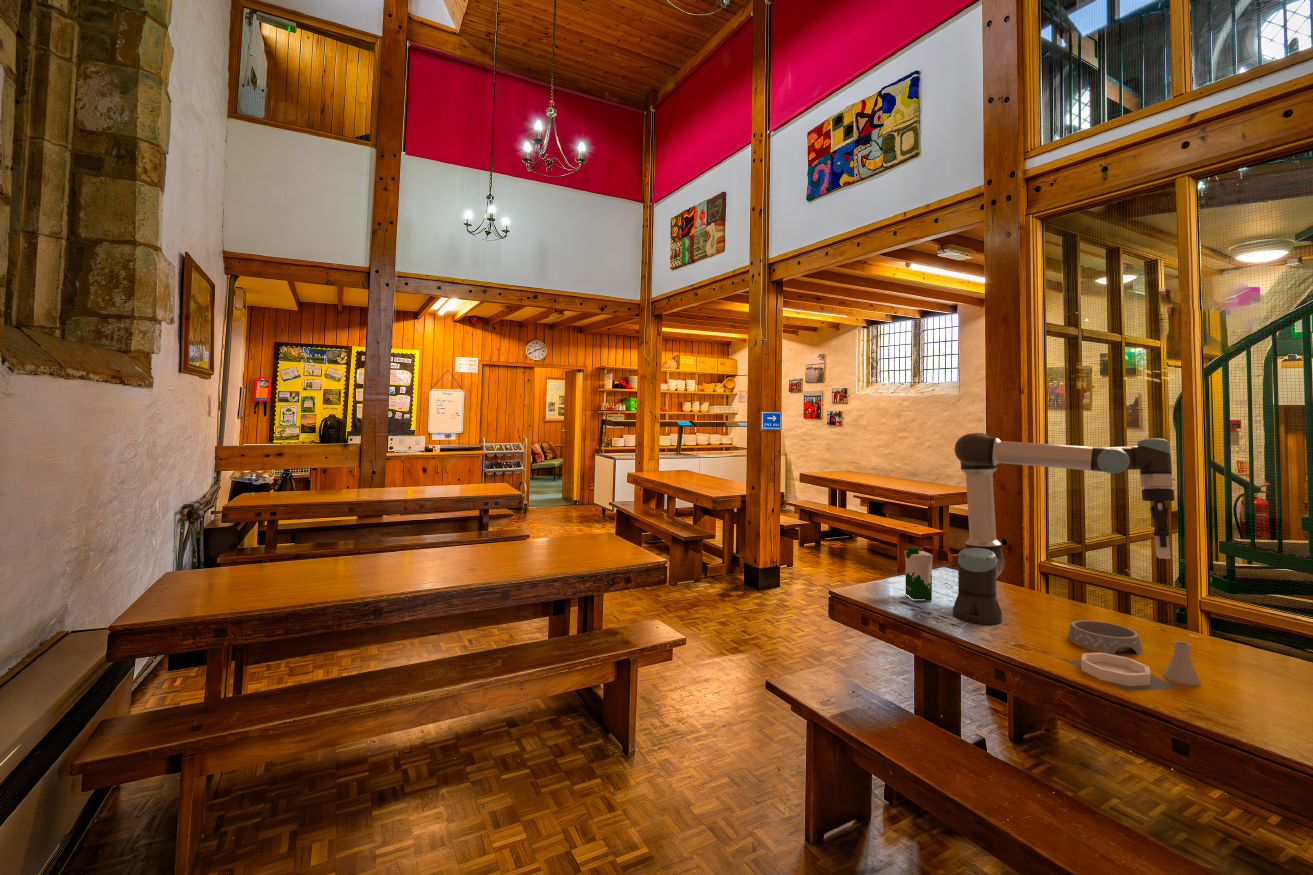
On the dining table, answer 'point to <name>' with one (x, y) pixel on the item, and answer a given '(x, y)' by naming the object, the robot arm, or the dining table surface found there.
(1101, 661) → the bowl
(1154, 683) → the mat
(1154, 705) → the dining table surface
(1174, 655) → the flask
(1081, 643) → the dog bowl
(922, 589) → the milk carton
